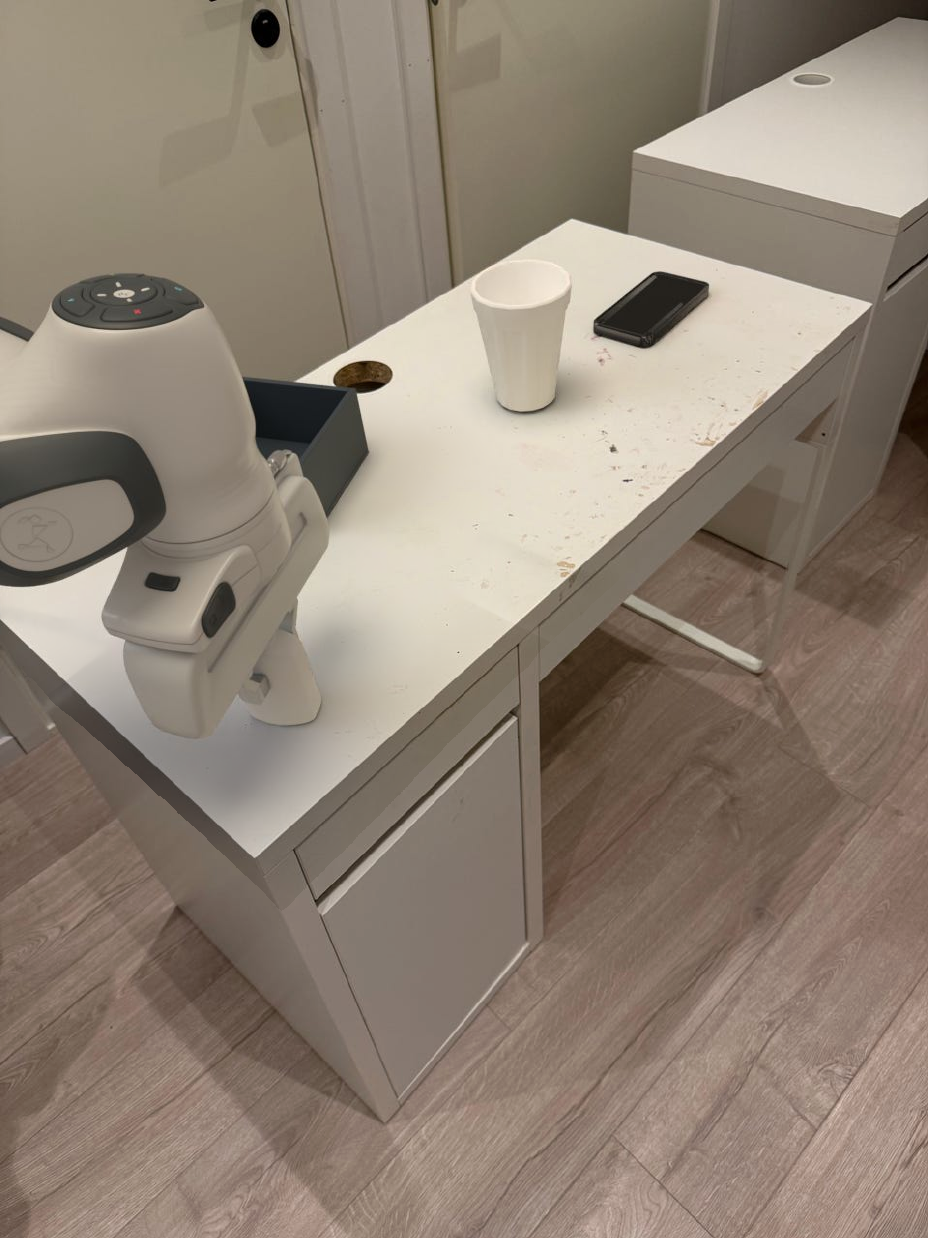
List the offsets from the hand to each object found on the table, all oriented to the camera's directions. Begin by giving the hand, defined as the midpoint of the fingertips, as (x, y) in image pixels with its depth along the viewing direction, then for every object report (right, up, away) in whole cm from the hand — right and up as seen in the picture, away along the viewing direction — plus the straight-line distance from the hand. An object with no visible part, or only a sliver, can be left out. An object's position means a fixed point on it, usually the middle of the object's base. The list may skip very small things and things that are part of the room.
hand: (271, 671), depth 66 cm
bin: (-5, +18, +24) cm, 30 cm away
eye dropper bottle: (0, -3, +3) cm, 5 cm away
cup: (+21, +28, +30) cm, 46 cm away
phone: (+37, +40, +40) cm, 67 cm away
